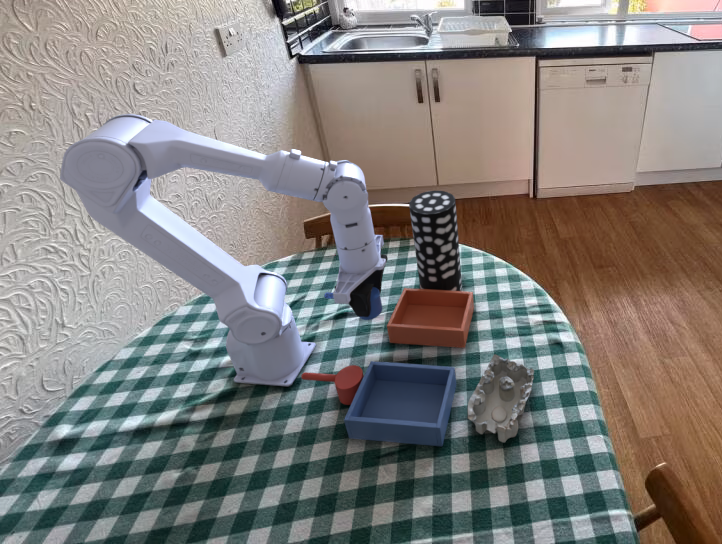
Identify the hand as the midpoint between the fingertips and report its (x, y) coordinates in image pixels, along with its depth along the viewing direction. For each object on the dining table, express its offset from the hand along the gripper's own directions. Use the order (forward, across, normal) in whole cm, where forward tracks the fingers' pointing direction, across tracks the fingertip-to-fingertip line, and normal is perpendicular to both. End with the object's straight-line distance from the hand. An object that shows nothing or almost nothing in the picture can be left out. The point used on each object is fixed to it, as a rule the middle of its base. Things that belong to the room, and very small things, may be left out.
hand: (368, 304), depth 70 cm
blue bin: (+7, -13, -10) cm, 18 cm away
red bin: (+7, +3, -10) cm, 13 cm away
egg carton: (+8, -11, -24) cm, 27 cm away
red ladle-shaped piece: (+7, -11, +2) cm, 13 cm away
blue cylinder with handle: (+1, 0, +3) cm, 3 cm away
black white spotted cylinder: (-3, +13, -9) cm, 16 cm away
